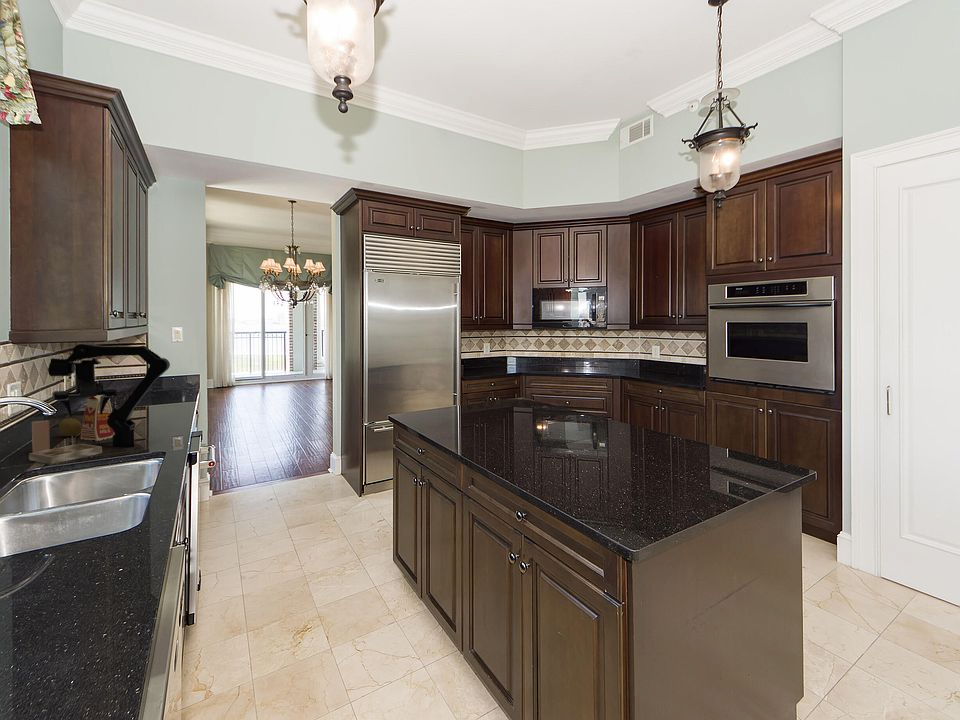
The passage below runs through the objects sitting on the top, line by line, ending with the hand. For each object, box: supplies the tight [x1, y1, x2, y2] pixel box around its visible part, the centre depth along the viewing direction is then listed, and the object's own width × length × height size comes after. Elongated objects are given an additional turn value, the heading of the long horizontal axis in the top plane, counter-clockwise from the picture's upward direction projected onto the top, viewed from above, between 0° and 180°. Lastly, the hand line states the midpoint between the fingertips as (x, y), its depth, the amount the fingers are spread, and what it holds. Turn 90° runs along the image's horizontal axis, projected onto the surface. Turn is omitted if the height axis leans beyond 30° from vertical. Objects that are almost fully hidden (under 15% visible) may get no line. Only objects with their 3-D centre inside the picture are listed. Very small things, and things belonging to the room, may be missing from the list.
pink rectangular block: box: [31, 419, 51, 453], centre depth 175 cm, size 4×2×12 cm, turn 139°
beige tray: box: [28, 443, 103, 465], centre depth 170 cm, size 16×12×3 cm
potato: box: [58, 417, 82, 437], centre depth 202 cm, size 7×8×8 cm
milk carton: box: [80, 395, 114, 442], centre depth 201 cm, size 9×9×20 cm
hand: (85, 415), depth 183 cm, fingers open, 9 cm apart
